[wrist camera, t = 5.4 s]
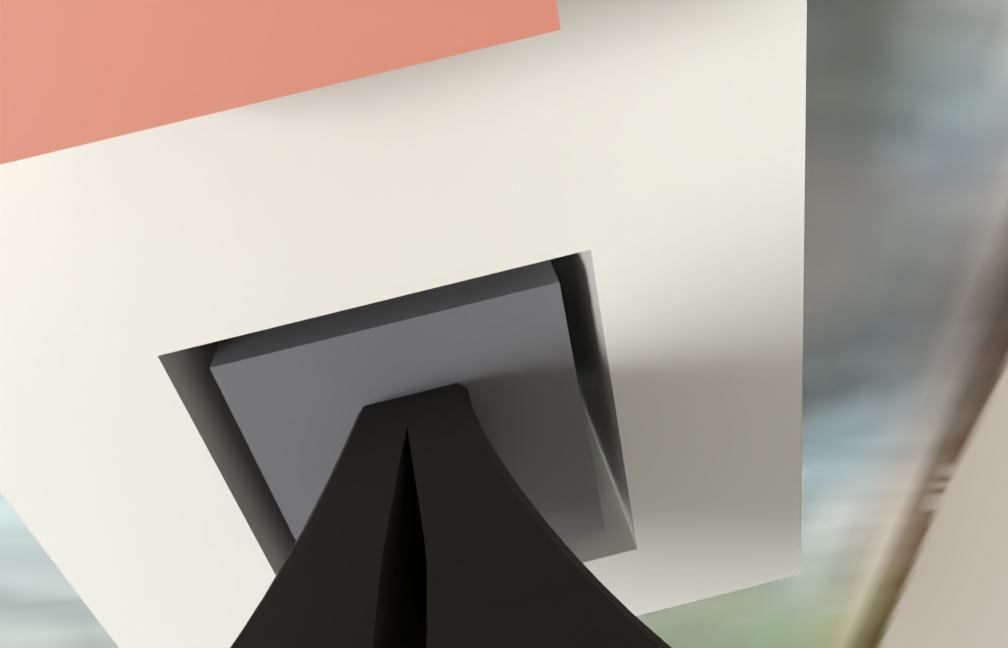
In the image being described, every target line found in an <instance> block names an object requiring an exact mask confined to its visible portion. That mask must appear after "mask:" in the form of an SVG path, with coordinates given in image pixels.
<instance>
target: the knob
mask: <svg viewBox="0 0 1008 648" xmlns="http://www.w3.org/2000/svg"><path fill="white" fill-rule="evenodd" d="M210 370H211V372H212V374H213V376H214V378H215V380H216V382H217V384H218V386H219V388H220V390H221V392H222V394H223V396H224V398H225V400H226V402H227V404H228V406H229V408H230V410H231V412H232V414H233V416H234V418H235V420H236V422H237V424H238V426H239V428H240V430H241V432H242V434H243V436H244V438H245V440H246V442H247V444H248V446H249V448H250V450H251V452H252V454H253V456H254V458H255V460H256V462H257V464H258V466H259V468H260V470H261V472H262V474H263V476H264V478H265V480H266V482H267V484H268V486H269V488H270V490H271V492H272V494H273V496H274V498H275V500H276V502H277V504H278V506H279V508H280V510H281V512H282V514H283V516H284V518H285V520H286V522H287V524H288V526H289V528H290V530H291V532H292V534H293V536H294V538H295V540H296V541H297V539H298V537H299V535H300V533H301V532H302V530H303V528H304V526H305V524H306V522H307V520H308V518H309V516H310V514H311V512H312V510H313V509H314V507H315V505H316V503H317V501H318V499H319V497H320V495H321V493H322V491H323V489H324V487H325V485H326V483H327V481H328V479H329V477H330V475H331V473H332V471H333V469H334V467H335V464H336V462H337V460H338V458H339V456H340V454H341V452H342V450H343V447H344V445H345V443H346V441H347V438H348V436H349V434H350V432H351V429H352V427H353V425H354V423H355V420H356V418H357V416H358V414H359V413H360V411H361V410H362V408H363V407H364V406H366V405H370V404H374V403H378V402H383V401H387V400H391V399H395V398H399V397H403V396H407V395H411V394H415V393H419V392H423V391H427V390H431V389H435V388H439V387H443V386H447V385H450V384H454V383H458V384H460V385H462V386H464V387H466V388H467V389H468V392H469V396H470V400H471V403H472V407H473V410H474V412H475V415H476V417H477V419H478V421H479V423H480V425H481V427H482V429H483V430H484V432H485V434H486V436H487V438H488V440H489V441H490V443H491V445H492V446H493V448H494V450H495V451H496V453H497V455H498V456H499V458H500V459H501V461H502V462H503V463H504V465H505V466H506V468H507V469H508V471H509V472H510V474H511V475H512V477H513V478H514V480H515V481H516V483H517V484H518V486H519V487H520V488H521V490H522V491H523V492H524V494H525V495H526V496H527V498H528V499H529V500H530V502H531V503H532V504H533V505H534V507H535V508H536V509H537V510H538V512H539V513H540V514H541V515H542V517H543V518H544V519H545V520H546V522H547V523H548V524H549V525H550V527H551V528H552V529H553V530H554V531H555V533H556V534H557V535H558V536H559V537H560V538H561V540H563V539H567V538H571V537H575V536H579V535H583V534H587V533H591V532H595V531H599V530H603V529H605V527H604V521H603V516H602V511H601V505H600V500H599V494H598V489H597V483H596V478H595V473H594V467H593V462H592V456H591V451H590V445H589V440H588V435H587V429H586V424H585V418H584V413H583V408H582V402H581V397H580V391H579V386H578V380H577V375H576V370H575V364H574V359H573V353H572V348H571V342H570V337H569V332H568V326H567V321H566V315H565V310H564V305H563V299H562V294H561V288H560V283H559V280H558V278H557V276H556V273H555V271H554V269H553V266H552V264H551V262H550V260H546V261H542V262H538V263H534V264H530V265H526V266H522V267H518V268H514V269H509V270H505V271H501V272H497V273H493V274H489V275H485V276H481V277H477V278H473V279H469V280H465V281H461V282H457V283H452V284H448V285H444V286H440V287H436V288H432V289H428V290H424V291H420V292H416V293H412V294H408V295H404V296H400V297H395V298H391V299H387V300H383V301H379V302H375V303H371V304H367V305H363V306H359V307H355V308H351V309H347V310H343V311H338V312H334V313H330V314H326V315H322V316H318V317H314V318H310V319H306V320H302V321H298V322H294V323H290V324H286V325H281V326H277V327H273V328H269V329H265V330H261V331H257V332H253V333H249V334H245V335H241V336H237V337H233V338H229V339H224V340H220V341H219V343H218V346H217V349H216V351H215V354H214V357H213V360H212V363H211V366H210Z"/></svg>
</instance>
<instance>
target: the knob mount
mask: <svg viewBox="0 0 1008 648" xmlns="http://www.w3.org/2000/svg"><path fill="white" fill-rule="evenodd" d="M556 2H557V9H558V15H559V22H560V29H561V30H557V31H553V32H549V33H545V34H541V35H537V36H533V37H528V38H524V39H520V40H516V41H512V42H508V43H503V44H499V45H495V46H491V47H487V48H483V49H479V50H474V51H470V52H466V53H462V54H458V55H454V56H450V57H445V58H441V59H437V60H433V61H429V62H425V63H420V64H416V65H412V66H408V67H404V68H400V69H396V70H391V71H387V72H383V73H379V74H375V75H371V76H366V77H362V78H358V79H354V80H350V81H346V82H342V83H337V84H333V85H329V86H325V87H321V88H317V89H312V90H308V91H304V92H300V93H296V94H292V95H288V96H283V97H279V98H275V99H271V100H267V101H263V102H259V103H254V104H250V105H246V106H242V107H238V108H234V109H229V110H225V111H221V112H217V113H213V114H209V115H205V116H200V117H196V118H192V119H188V120H184V121H180V122H175V123H171V124H167V125H163V126H159V127H155V128H151V129H146V130H142V131H138V132H134V133H130V134H126V135H121V136H117V137H113V138H109V139H105V140H101V141H97V142H92V143H88V144H84V145H80V146H76V147H72V148H67V149H63V150H59V151H55V152H51V153H47V154H43V155H38V156H34V157H30V158H26V159H22V160H18V161H14V162H9V163H5V164H1V165H0V492H1V493H2V495H3V496H4V497H5V499H6V500H7V501H8V503H9V504H10V505H11V507H12V508H13V509H14V511H15V512H16V513H17V515H18V516H19V517H20V518H21V520H22V521H23V522H24V524H25V525H26V526H27V528H28V529H29V530H30V532H31V533H32V534H33V536H34V537H35V538H36V539H37V541H38V542H39V543H40V545H41V546H42V547H43V549H44V550H45V551H46V553H47V554H48V555H49V557H50V558H51V559H52V561H53V562H54V563H55V564H56V566H57V567H58V568H59V570H60V571H61V572H62V574H63V575H64V576H65V578H66V579H67V580H68V582H69V583H70V584H71V586H72V587H73V588H74V589H75V591H76V592H77V593H78V595H79V596H80V597H81V599H82V600H83V601H84V603H85V604H86V605H87V607H88V608H89V609H90V610H91V612H92V613H93V614H94V616H95V617H96V618H97V620H98V621H99V622H100V624H101V625H102V626H103V628H104V629H105V630H106V632H107V633H108V634H109V635H110V637H111V638H112V639H113V641H114V642H115V643H116V645H117V646H118V647H119V648H230V647H231V646H232V644H233V643H234V641H235V640H236V638H237V637H238V635H239V634H240V632H241V631H242V629H243V628H244V626H245V625H246V623H247V622H248V620H249V619H250V617H251V616H252V614H253V612H254V611H255V609H256V608H257V606H258V605H259V603H260V602H261V600H262V598H263V597H264V595H265V594H266V592H267V590H268V588H269V587H270V585H271V583H272V582H273V580H274V578H275V577H276V575H277V573H278V571H279V570H280V568H281V566H282V565H283V563H284V561H285V559H286V558H287V556H288V554H289V553H290V551H291V549H292V548H293V546H294V544H295V542H296V540H295V538H294V536H293V534H292V532H291V530H290V528H289V526H288V524H287V522H286V520H285V518H284V516H283V514H282V512H281V510H280V508H279V506H278V504H277V502H276V500H275V498H274V496H273V494H272V492H271V490H270V488H269V486H268V484H267V482H266V480H265V478H264V476H263V474H262V472H261V470H260V468H259V466H258V464H257V462H256V460H255V458H254V456H253V454H252V452H251V450H250V448H249V446H248V444H247V442H246V440H245V438H244V436H243V434H242V432H241V430H240V428H239V426H238V424H237V422H236V420H235V418H234V416H233V414H232V412H231V410H230V408H229V406H228V404H227V402H226V400H225V398H224V396H223V394H222V392H221V390H220V388H219V386H218V384H217V382H216V380H215V378H214V376H213V374H212V372H211V370H210V366H211V363H212V360H213V357H214V354H215V351H216V349H217V346H218V343H219V341H220V340H224V339H229V338H233V337H237V336H241V335H245V334H249V333H253V332H257V331H261V330H265V329H269V328H273V327H277V326H281V325H286V324H290V323H294V322H298V321H302V320H306V319H310V318H314V317H318V316H322V315H326V314H330V313H334V312H338V311H343V310H347V309H351V308H355V307H359V306H363V305H367V304H371V303H375V302H379V301H383V300H387V299H391V298H395V297H400V296H404V295H408V294H412V293H416V292H420V291H424V290H428V289H432V288H436V287H440V286H444V285H448V284H452V283H457V282H461V281H465V280H469V279H473V278H477V277H481V276H485V275H489V274H493V273H497V272H501V271H505V270H509V269H514V268H518V267H522V266H526V265H530V264H534V263H538V262H542V261H546V260H550V259H553V263H554V268H555V273H556V276H557V278H558V280H559V283H560V288H561V294H562V299H563V305H564V310H565V315H566V321H567V326H568V332H569V337H570V342H571V348H572V353H573V359H574V364H575V370H576V375H577V380H578V386H579V391H580V397H581V402H582V408H583V413H584V418H585V424H586V429H587V435H588V440H589V445H590V451H591V456H592V462H593V467H594V473H595V478H596V483H597V489H598V494H599V500H600V505H601V511H602V516H603V521H604V527H605V529H603V530H599V531H595V532H591V533H587V534H583V535H579V536H575V537H571V538H567V539H563V540H562V541H563V542H564V543H565V544H566V545H567V546H568V548H569V549H570V550H571V551H572V552H573V553H574V554H575V555H576V557H577V558H578V559H579V560H580V561H581V562H582V563H583V564H584V565H585V566H586V567H587V568H588V569H589V570H590V571H591V572H592V573H593V575H594V576H595V577H596V578H597V579H598V580H599V581H600V582H601V583H602V584H603V585H604V586H605V587H606V588H607V589H608V590H609V591H610V592H611V593H612V594H613V595H614V596H615V597H616V598H617V599H618V600H619V601H620V602H621V603H622V604H623V605H624V606H625V607H626V608H628V609H629V610H630V611H631V612H632V613H633V614H634V615H635V616H639V615H643V614H646V613H650V612H654V611H658V610H662V609H666V608H670V607H674V606H678V605H682V604H686V603H690V602H694V601H698V600H702V599H706V598H710V597H714V596H717V595H721V594H725V593H729V592H733V591H737V590H741V589H745V588H749V587H753V586H757V585H761V584H765V583H769V582H773V581H777V580H781V579H785V578H788V577H792V576H796V575H800V562H801V475H802V387H803V300H804V213H805V125H806V38H807V0H556Z"/></svg>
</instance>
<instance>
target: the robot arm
mask: <svg viewBox="0 0 1008 648" xmlns="http://www.w3.org/2000/svg"><path fill="white" fill-rule="evenodd" d="M230 648H671V647H670V646H669V645H668V644H667V643H665V642H664V641H663V640H662V639H661V638H660V637H658V636H657V635H656V634H655V633H654V632H653V631H652V630H650V629H649V628H648V627H647V626H646V625H645V624H644V623H642V622H641V621H640V620H639V619H638V618H637V617H636V616H635V615H634V614H633V613H632V612H631V611H630V610H629V609H628V608H626V607H625V606H624V605H623V604H622V603H621V602H620V601H619V600H618V599H617V598H616V597H615V596H614V595H613V594H612V593H611V592H610V591H609V590H608V589H607V588H606V587H605V586H604V585H603V584H602V583H601V582H600V581H599V580H598V579H597V578H596V577H595V576H594V575H593V573H592V572H591V571H590V570H589V569H588V568H587V567H586V566H585V565H584V564H583V563H582V562H581V561H580V560H579V559H578V558H577V557H576V555H575V554H574V553H573V552H572V551H571V550H570V549H569V548H568V546H567V545H566V544H565V543H564V542H563V541H562V540H561V538H560V537H559V536H558V535H557V534H556V533H555V531H554V530H553V529H552V528H551V527H550V525H549V524H548V523H547V522H546V520H545V519H544V518H543V517H542V515H541V514H540V513H539V512H538V510H537V509H536V508H535V507H534V505H533V504H532V503H531V502H530V500H529V499H528V498H527V496H526V495H525V494H524V492H523V491H522V490H521V488H520V487H519V486H518V484H517V483H516V481H515V480H514V478H513V477H512V475H511V474H510V472H509V471H508V469H507V468H506V466H505V465H504V463H503V462H502V461H501V459H500V458H499V456H498V455H497V453H496V451H495V450H494V448H493V446H492V445H491V443H490V441H489V440H488V438H487V436H486V434H485V432H484V430H483V429H482V427H481V425H480V423H479V421H478V419H477V417H476V415H475V412H474V410H473V407H472V403H471V400H470V396H469V392H468V389H467V388H466V387H464V386H462V385H460V384H458V383H454V384H450V385H447V386H443V387H439V388H435V389H431V390H427V391H423V392H419V393H415V394H411V395H407V396H403V397H399V398H395V399H391V400H387V401H383V402H378V403H374V404H370V405H366V406H364V407H363V408H362V410H361V411H360V413H359V414H358V416H357V418H356V420H355V423H354V425H353V427H352V429H351V432H350V434H349V436H348V438H347V441H346V443H345V445H344V447H343V450H342V452H341V454H340V456H339V458H338V460H337V462H336V464H335V467H334V469H333V471H332V473H331V475H330V477H329V479H328V481H327V483H326V485H325V487H324V489H323V491H322V493H321V495H320V497H319V499H318V501H317V503H316V505H315V507H314V509H313V510H312V512H311V514H310V516H309V518H308V520H307V522H306V524H305V526H304V528H303V530H302V532H301V533H300V535H299V537H298V539H297V541H296V542H295V544H294V546H293V548H292V549H291V551H290V553H289V554H288V556H287V558H286V559H285V561H284V563H283V565H282V566H281V568H280V570H279V571H278V573H277V575H276V577H275V578H274V580H273V582H272V583H271V585H270V587H269V588H268V590H267V592H266V594H265V595H264V597H263V598H262V600H261V602H260V603H259V605H258V606H257V608H256V609H255V611H254V612H253V614H252V616H251V617H250V619H249V620H248V622H247V623H246V625H245V626H244V628H243V629H242V631H241V632H240V634H239V635H238V637H237V638H236V640H235V641H234V643H233V644H232V646H231V647H230Z"/></svg>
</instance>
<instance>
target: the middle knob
mask: <svg viewBox="0 0 1008 648" xmlns="http://www.w3.org/2000/svg"><path fill="white" fill-rule="evenodd" d="M557 30H561V29H560V22H559V15H558V9H557V2H556V0H0V165H1V164H5V163H9V162H14V161H18V160H22V159H26V158H30V157H34V156H38V155H43V154H47V153H51V152H55V151H59V150H63V149H67V148H72V147H76V146H80V145H84V144H88V143H92V142H97V141H101V140H105V139H109V138H113V137H117V136H121V135H126V134H130V133H134V132H138V131H142V130H146V129H151V128H155V127H159V126H163V125H167V124H171V123H175V122H180V121H184V120H188V119H192V118H196V117H200V116H205V115H209V114H213V113H217V112H221V111H225V110H229V109H234V108H238V107H242V106H246V105H250V104H254V103H259V102H263V101H267V100H271V99H275V98H279V97H283V96H288V95H292V94H296V93H300V92H304V91H308V90H312V89H317V88H321V87H325V86H329V85H333V84H337V83H342V82H346V81H350V80H354V79H358V78H362V77H366V76H371V75H375V74H379V73H383V72H387V71H391V70H396V69H400V68H404V67H408V66H412V65H416V64H420V63H425V62H429V61H433V60H437V59H441V58H445V57H450V56H454V55H458V54H462V53H466V52H470V51H474V50H479V49H483V48H487V47H491V46H495V45H499V44H503V43H508V42H512V41H516V40H520V39H524V38H528V37H533V36H537V35H541V34H545V33H549V32H553V31H557Z"/></svg>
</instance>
